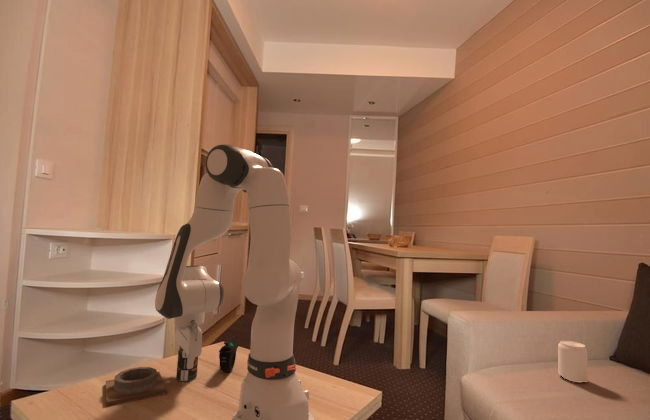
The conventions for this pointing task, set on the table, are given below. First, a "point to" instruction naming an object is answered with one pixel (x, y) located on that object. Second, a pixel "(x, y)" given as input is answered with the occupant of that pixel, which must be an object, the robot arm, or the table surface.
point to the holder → (134, 385)
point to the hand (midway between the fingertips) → (185, 362)
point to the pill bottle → (182, 370)
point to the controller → (228, 355)
